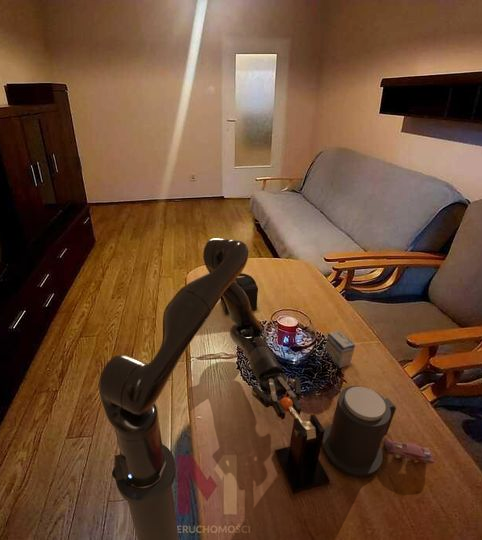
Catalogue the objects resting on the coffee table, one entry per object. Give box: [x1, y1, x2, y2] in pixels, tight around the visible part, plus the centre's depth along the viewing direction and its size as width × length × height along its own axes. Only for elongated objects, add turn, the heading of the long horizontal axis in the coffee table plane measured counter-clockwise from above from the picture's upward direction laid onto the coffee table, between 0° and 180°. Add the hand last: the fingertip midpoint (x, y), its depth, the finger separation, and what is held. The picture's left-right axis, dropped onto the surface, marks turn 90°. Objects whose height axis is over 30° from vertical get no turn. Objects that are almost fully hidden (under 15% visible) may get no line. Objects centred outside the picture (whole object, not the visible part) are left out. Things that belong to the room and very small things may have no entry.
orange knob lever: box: [279, 396, 316, 440], centre depth 81 cm, size 14×3×3 cm, turn 13°
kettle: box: [321, 385, 397, 479], centre depth 82 cm, size 15×14×18 cm
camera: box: [220, 272, 259, 315], centre depth 137 cm, size 11×14×15 cm
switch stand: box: [274, 413, 331, 495], centre depth 79 cm, size 10×9×16 cm
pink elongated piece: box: [384, 437, 435, 464], centre depth 83 cm, size 10×5×7 cm, turn 73°
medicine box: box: [324, 329, 356, 369], centre depth 112 cm, size 8×4×9 cm, turn 21°
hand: (291, 414), depth 84 cm, fingers closed on orange knob lever, 3 cm apart
